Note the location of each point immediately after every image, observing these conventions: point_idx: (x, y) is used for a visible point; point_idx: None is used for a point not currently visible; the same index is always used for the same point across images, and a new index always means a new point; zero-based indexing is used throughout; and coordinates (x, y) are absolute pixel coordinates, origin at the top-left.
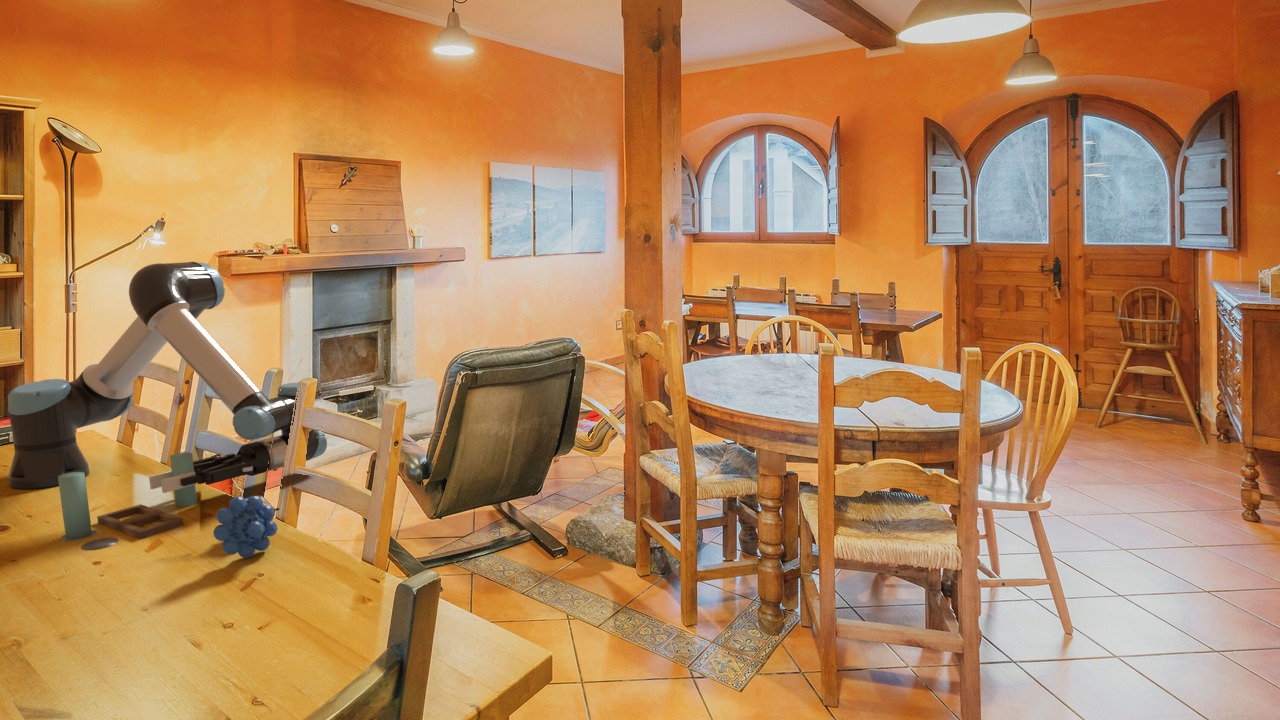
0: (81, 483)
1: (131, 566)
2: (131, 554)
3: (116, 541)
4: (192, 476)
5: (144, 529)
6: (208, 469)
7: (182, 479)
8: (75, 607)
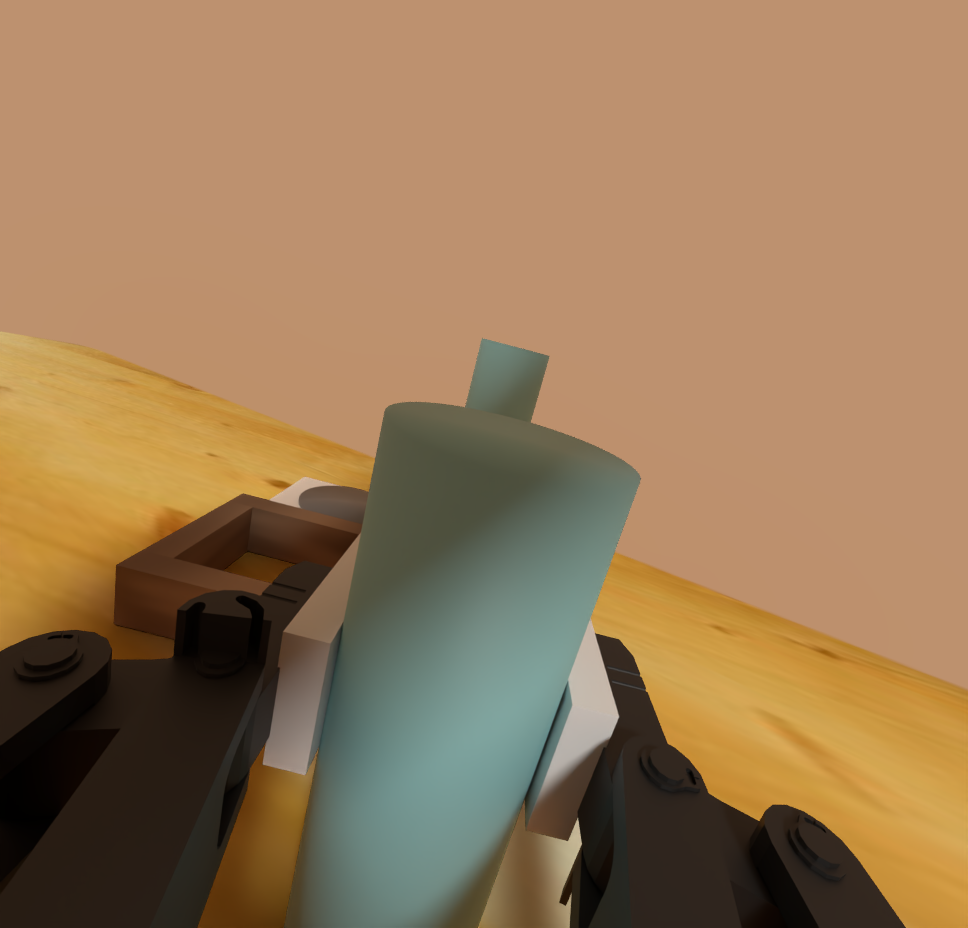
0: (476, 365)
1: (162, 468)
2: (218, 503)
3: (310, 509)
4: (275, 624)
5: (243, 505)
6: (127, 804)
7: (316, 566)
8: (170, 410)
